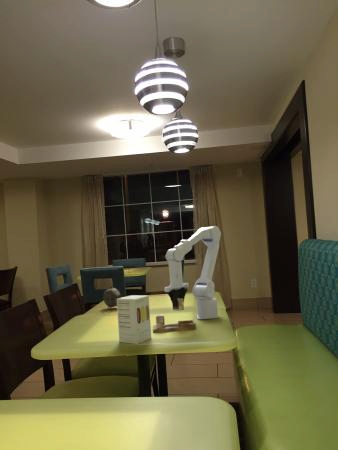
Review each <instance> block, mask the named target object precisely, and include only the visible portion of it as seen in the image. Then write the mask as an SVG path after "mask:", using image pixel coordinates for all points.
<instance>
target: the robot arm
mask: <svg viewBox="0 0 338 450" xmlns="http://www.w3.org/2000/svg"><path fill="white" fill-rule="evenodd" d="M221 236H222V232H221V230H220V228H219V227H218V226H217V225H213V226H205V227H204V226H202V227H200V228H198V229H197V230H196V232H195V233H194V234H192V235H191V237H189V238H188V239H181V240H180V241H179V243H178V244H177V245H174V246H173V248H170V249H168V250H167V251H166V254H165V256H164V257H165V260H166V261H167V264H168V272H169V285H168V286H165V287H164V292H165V293H166V295H168V297H169V298H170V301H171V304H173V306H172V308H173V307H177V306H178V298H183V303H184V304H185V298H186V297H185V296H186V294H187V291H188V288H189V287H190V286H189V282H184V281H183V280H184V279H183V270H182V269H183V268H182V261H183V259H184V257H185V255H186V254H188V253H189V252H190V251H192V249H193V246H194V245H195V244H196V243H198V242H200V241H202V243H204V245H205V246H206V247H207V249H206V253H205V257H204V261H203V264H202V265H203V266H202V268H201V269H202V270H201V273H200V277H199V278H198V279H197V280H196V281H195V284H194V285H193V287H192V295H193V296H194V298H195V299H196V311H197V315H195V317H196V319H197V320H208V319H218V318H219V313H218V302H217V298H216V297H214V296H215V291H216V290H215V283H214V281H213V275H214V272H215V271H214V270H215V266H216V262H217V258H218V253H219V249H220V241H221Z"/></svg>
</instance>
